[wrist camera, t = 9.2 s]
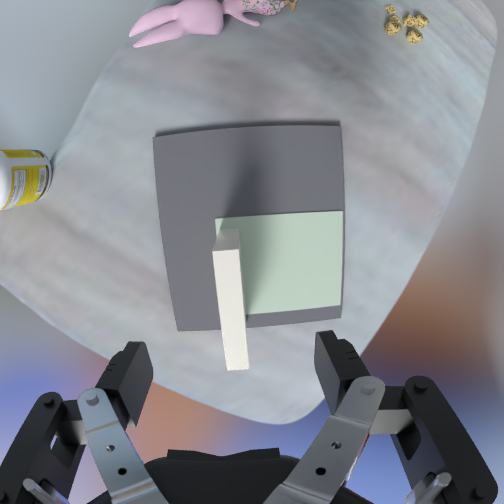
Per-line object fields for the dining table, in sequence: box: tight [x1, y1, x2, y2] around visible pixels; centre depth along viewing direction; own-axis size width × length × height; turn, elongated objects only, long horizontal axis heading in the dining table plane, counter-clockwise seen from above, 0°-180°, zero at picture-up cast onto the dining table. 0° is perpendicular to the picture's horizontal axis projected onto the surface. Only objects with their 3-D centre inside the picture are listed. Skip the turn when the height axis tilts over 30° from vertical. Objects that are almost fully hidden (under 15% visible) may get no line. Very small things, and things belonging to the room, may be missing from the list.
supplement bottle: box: [0, 150, 52, 210], centre depth 17 cm, size 5×5×10 cm
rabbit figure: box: [129, 0, 297, 48], centre depth 17 cm, size 6×6×15 cm
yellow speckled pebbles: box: [384, 5, 429, 44], centre depth 19 cm, size 5×5×2 cm
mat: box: [153, 125, 344, 331], centre depth 25 cm, size 18×16×1 cm
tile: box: [212, 228, 249, 370], centre depth 22 cm, size 7×2×9 cm
